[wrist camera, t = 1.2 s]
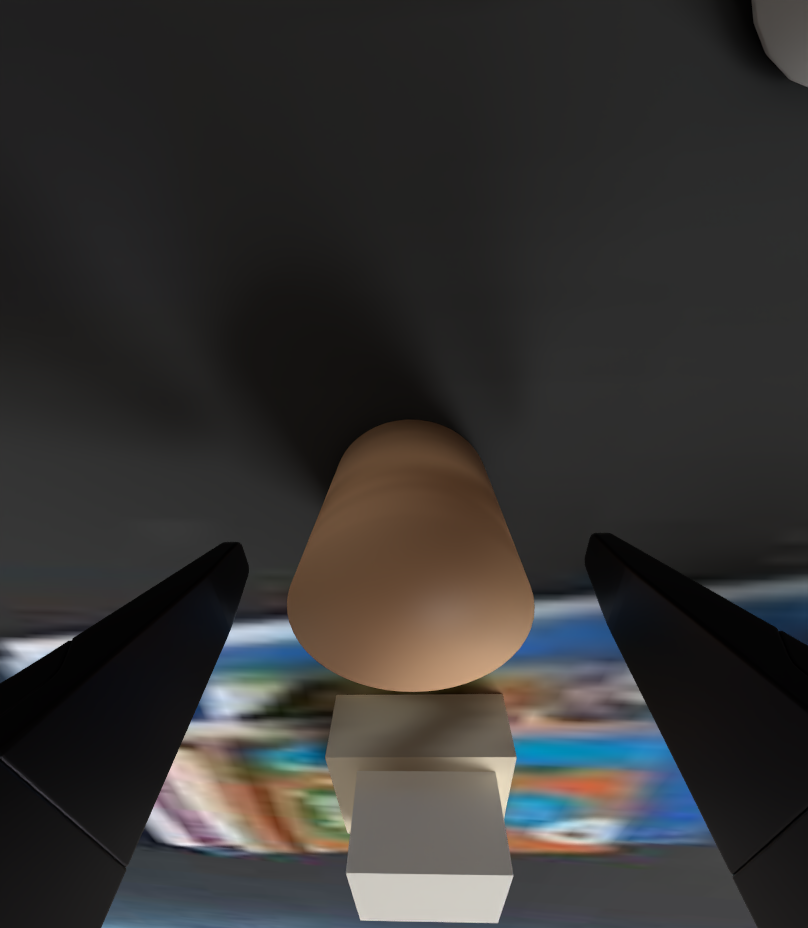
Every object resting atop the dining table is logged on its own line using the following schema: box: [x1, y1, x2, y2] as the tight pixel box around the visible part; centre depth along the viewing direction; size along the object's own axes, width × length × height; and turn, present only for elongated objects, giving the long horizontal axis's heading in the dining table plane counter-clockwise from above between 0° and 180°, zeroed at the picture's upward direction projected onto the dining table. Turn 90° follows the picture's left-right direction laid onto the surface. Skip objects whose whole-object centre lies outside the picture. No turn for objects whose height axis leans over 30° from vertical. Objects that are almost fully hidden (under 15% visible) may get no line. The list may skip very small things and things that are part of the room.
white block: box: [346, 771, 514, 923], centre depth 15 cm, size 6×6×3 cm
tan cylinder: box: [287, 420, 535, 692], centre depth 9 cm, size 5×5×5 cm
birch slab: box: [325, 694, 516, 833], centre depth 18 cm, size 8×8×3 cm
